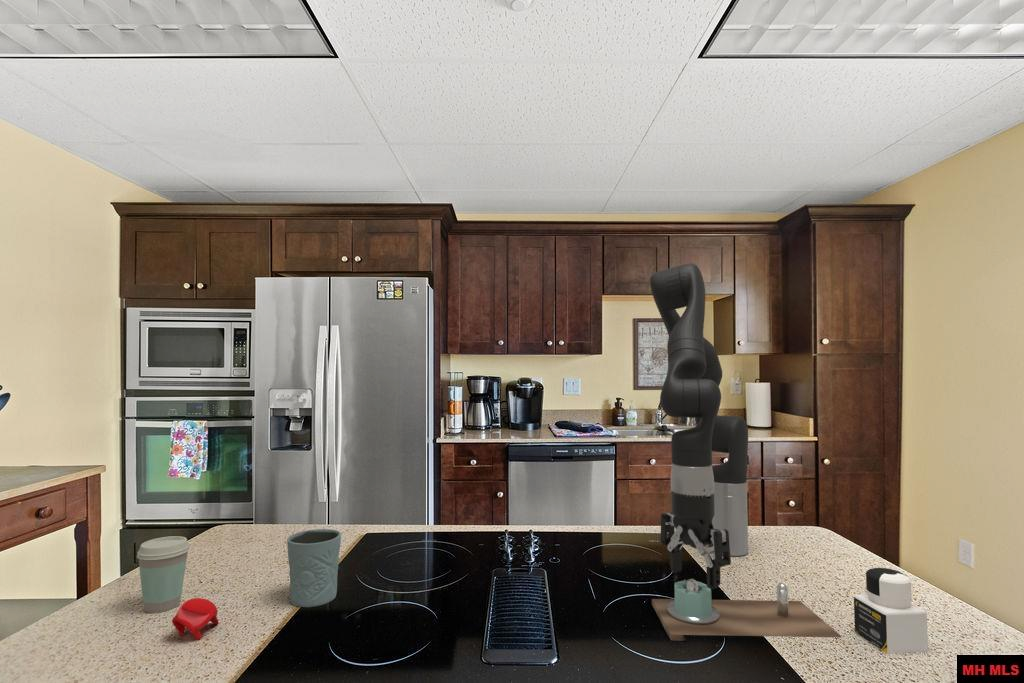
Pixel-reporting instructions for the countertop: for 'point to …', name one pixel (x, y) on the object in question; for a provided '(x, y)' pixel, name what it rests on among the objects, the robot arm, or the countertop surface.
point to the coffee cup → (162, 572)
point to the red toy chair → (195, 616)
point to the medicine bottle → (890, 613)
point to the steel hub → (692, 586)
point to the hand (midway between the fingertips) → (694, 579)
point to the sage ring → (693, 600)
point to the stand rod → (782, 600)
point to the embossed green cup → (313, 566)
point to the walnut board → (748, 620)
